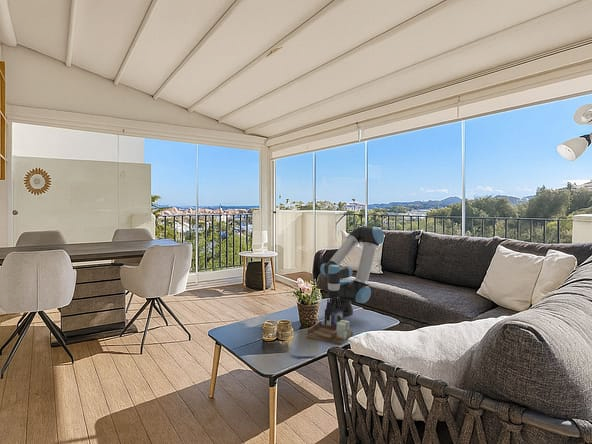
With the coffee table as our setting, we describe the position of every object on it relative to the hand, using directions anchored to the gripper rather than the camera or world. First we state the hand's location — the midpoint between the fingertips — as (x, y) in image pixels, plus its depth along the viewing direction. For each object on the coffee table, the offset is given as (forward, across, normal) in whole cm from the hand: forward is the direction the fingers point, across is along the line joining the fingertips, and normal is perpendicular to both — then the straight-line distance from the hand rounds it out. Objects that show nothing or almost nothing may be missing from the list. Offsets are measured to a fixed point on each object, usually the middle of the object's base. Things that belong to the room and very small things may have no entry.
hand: (333, 322), depth 229 cm
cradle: (+3, +15, +5) cm, 16 cm away
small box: (+3, -1, 0) cm, 3 cm away
